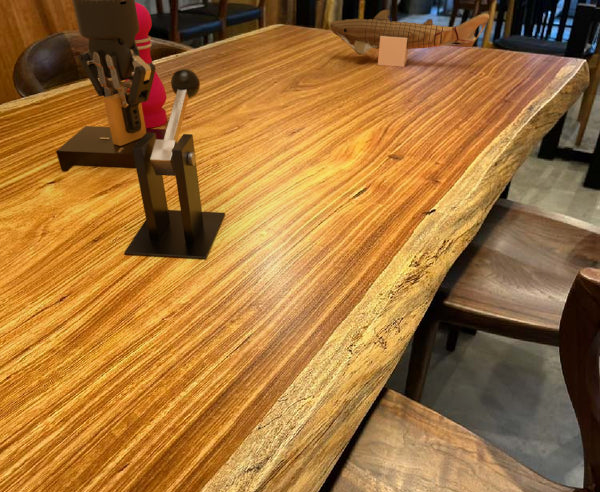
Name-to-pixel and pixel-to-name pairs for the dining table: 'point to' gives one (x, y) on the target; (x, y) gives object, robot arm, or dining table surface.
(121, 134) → the block
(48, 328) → the dining table surface
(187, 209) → the bracket
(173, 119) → the latch lever
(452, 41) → the wood carving
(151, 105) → the pepper mill
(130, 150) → the plate
